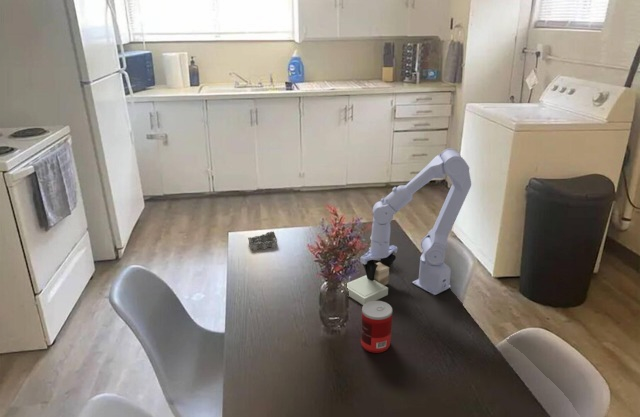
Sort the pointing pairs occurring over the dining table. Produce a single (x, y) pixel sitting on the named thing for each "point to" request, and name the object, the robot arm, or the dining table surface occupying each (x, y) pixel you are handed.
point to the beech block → (381, 273)
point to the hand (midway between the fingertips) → (377, 277)
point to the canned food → (376, 326)
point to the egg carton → (265, 239)
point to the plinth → (366, 290)
